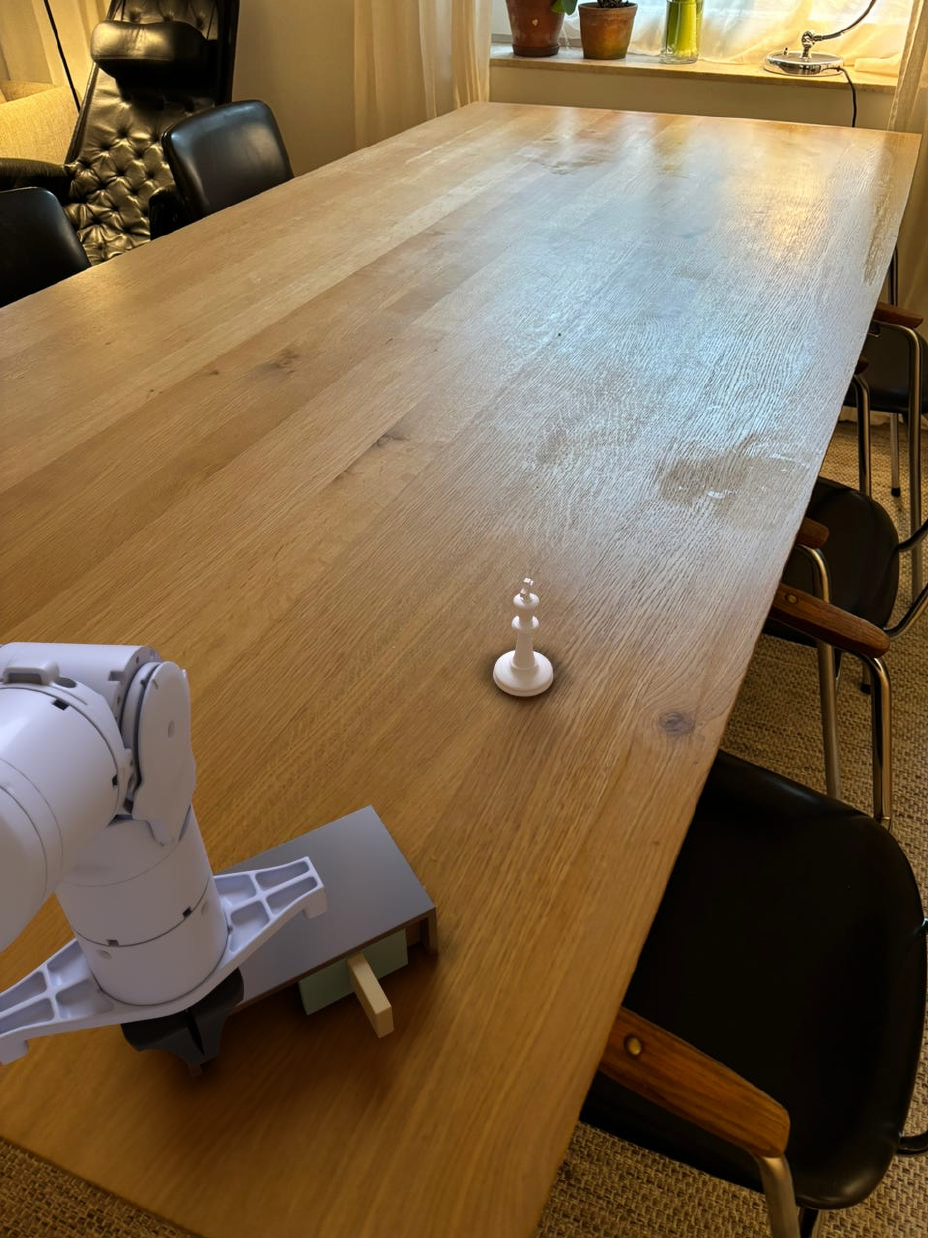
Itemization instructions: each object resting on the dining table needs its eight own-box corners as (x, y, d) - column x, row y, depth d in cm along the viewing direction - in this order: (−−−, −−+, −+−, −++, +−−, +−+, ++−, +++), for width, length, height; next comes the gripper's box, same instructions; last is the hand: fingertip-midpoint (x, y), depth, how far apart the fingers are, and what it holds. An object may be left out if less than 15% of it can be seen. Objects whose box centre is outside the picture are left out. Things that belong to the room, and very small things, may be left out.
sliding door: (334, 1074, 57) (327, 1041, 54) (303, 1008, 60) (295, 973, 57) (439, 1017, 59) (437, 983, 57) (404, 956, 62) (400, 921, 60)
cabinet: (193, 1079, 57) (175, 1037, 53) (148, 955, 63) (130, 910, 59) (438, 952, 63) (436, 907, 59) (376, 849, 69) (371, 803, 65)
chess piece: (561, 665, 82) (569, 570, 76) (540, 704, 79) (545, 608, 72) (507, 648, 84) (509, 554, 77) (483, 686, 81) (484, 590, 74)
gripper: (270, 749, 45) (304, 916, 54) (-70, 886, 40) (30, 1047, 49) (334, 862, 40) (360, 1025, 49) (-42, 1034, 35) (63, 1182, 44)
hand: (199, 1044), depth 49 cm, fingers closed
